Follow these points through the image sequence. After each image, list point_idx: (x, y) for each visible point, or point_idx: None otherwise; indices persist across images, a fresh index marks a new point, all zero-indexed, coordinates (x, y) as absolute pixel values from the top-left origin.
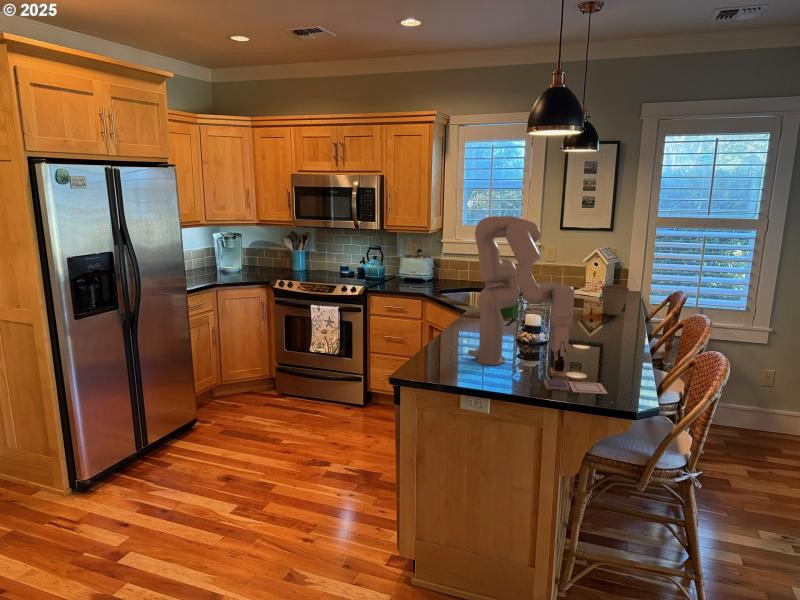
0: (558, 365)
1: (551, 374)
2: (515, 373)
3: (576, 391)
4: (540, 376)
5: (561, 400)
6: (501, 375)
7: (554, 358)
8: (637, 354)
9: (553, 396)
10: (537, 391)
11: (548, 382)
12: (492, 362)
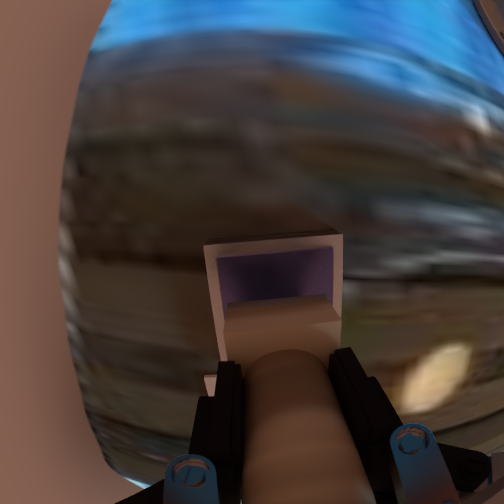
0: (195, 426)
1: (240, 310)
2: (438, 79)
3: (209, 391)
4: (428, 218)
5: (77, 307)
6: (381, 2)
7: (296, 445)
8: (499, 448)
9: (107, 274)
10: (153, 182)
11: (266, 263)
12: (489, 14)
